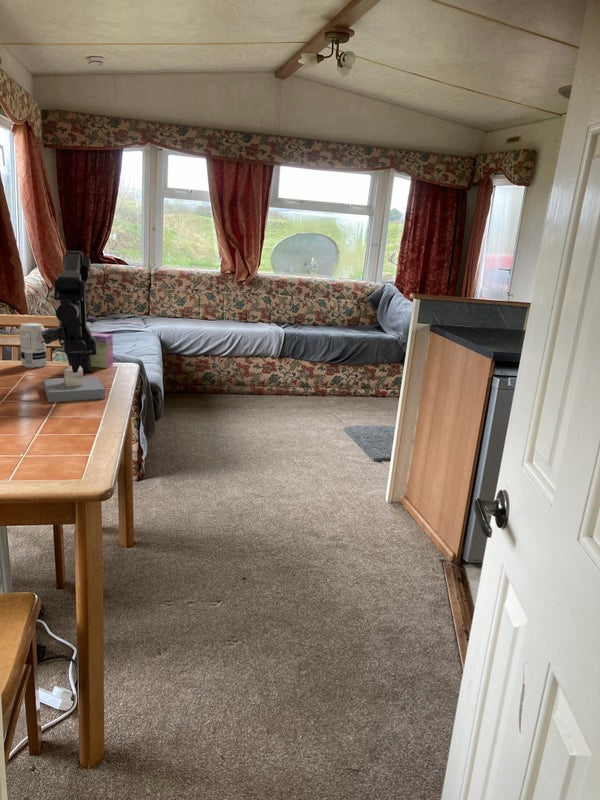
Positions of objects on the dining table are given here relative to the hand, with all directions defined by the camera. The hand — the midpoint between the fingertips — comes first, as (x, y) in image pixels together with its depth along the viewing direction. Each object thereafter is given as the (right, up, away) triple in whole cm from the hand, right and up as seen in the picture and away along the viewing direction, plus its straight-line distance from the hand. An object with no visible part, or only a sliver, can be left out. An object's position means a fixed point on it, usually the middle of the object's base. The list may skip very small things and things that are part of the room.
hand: (73, 369), depth 186 cm
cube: (0, -4, +1) cm, 5 cm away
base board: (0, -7, +2) cm, 8 cm away
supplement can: (-26, +3, +33) cm, 42 cm away
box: (-6, +3, +38) cm, 39 cm away
